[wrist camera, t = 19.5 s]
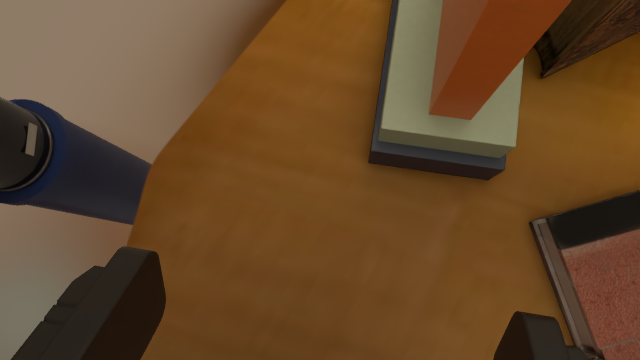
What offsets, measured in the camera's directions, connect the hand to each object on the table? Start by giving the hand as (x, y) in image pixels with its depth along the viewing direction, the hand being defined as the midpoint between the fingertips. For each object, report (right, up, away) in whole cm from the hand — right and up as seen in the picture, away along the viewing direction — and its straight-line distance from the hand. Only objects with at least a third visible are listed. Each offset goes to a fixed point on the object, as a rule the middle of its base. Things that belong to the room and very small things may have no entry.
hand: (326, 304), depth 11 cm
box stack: (+12, +13, +38) cm, 42 cm away
